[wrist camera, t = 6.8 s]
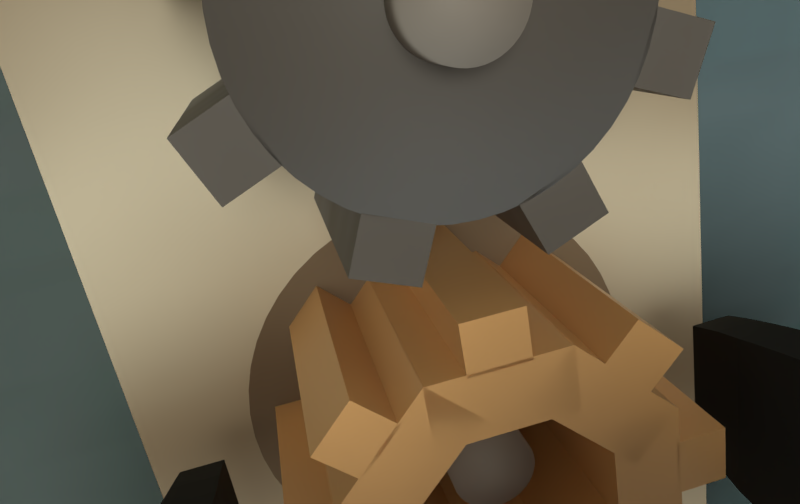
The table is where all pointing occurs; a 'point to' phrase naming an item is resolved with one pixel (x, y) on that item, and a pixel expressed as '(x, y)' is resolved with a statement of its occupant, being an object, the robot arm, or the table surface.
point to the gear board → (252, 239)
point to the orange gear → (488, 388)
